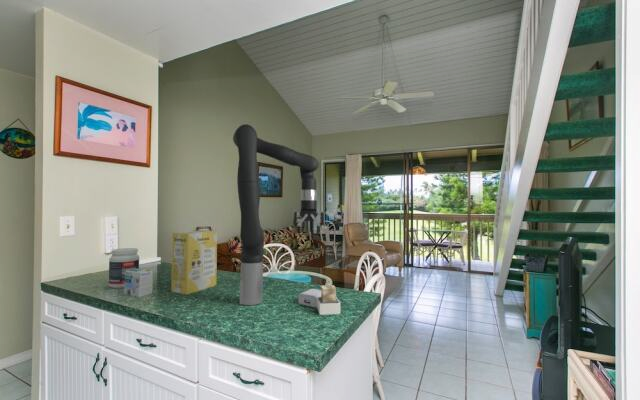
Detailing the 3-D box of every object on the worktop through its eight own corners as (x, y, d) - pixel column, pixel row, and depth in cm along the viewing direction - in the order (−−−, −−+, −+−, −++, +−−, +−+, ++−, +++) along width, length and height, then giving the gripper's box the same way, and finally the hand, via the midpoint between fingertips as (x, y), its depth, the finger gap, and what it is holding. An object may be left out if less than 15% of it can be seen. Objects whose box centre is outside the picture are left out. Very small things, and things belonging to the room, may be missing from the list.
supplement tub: (127, 289, 144) (128, 251, 144) (101, 288, 144) (102, 251, 145) (144, 282, 157) (144, 247, 157) (120, 282, 157) (121, 247, 157)
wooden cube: (323, 301, 113) (323, 288, 114) (321, 298, 118) (321, 285, 118) (335, 301, 114) (335, 288, 114) (333, 297, 119) (333, 285, 119)
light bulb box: (123, 294, 135) (123, 270, 136) (137, 290, 142) (137, 268, 142) (139, 297, 131) (140, 273, 132) (153, 293, 138) (153, 270, 138)
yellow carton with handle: (201, 282, 157) (202, 230, 158) (216, 285, 152) (217, 231, 153) (171, 291, 141) (172, 232, 141) (186, 294, 136) (188, 233, 137)
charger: (334, 298, 132) (316, 308, 120) (317, 295, 137) (298, 304, 125) (334, 288, 132) (316, 296, 120) (317, 285, 137) (298, 292, 125)
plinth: (319, 314, 112) (319, 303, 112) (317, 307, 120) (317, 296, 120) (340, 313, 113) (340, 302, 113) (336, 306, 121) (336, 296, 121)
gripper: (294, 199, 134) (293, 235, 133) (325, 199, 136) (324, 235, 135) (293, 199, 141) (292, 233, 141) (322, 200, 143) (322, 233, 143)
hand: (308, 234), depth 138 cm, fingers open, 8 cm apart
